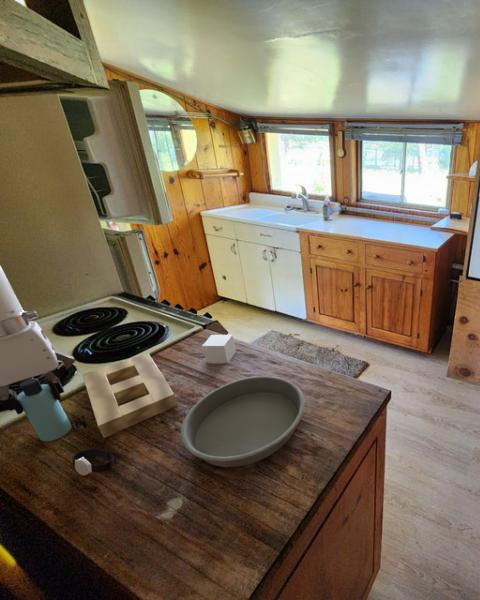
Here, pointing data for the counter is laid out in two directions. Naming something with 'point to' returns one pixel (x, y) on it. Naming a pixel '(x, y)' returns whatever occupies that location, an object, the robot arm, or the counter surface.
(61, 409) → the bottle
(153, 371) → the hole block
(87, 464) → the watch
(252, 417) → the cake pan
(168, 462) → the counter surface
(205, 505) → the counter surface
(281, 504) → the counter surface
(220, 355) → the white cube
